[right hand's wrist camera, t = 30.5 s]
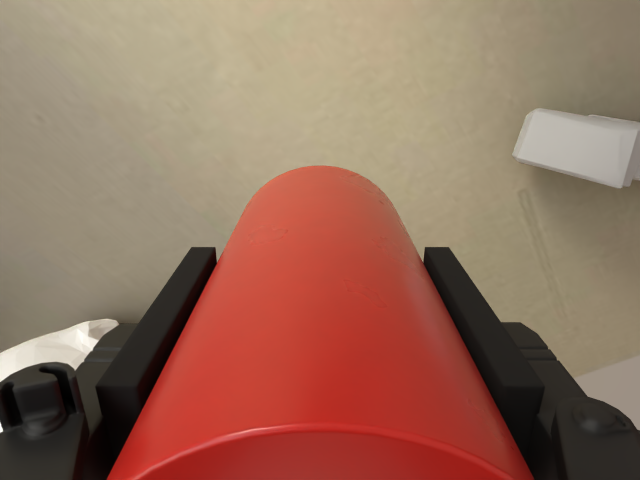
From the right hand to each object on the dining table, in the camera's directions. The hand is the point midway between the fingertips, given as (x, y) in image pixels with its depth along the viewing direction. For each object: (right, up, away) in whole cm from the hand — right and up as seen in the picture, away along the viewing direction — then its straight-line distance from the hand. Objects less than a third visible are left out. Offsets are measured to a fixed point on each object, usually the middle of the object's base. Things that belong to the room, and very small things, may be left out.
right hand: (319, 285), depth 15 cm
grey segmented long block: (+23, +8, +18) cm, 30 cm away
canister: (0, +1, +3) cm, 3 cm away
